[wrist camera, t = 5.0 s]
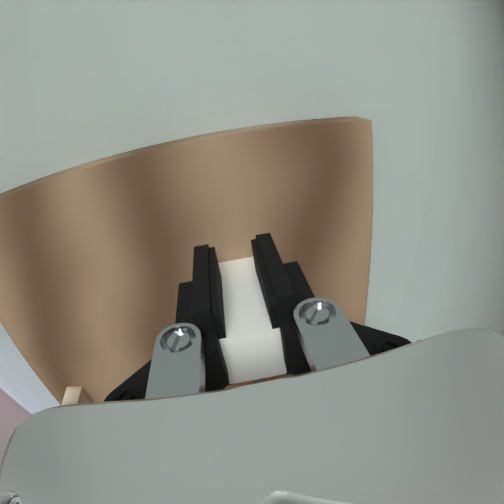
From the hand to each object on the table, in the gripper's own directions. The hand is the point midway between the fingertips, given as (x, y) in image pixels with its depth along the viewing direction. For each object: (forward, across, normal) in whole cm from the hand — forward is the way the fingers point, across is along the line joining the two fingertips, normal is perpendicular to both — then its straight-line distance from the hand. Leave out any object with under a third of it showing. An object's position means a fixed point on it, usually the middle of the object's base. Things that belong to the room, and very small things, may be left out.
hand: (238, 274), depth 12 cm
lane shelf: (+3, +4, +6) cm, 8 cm away
